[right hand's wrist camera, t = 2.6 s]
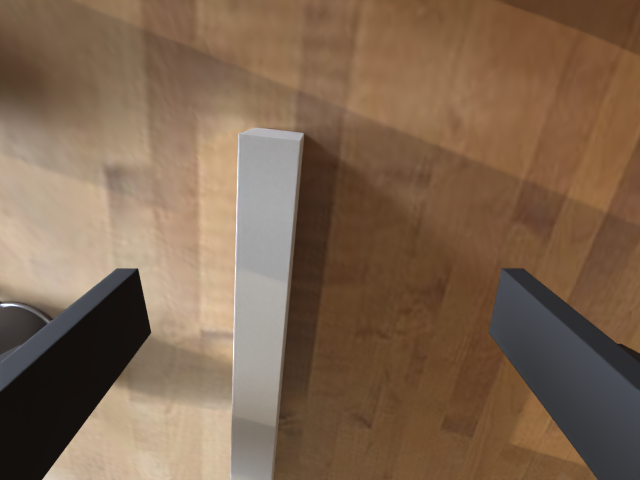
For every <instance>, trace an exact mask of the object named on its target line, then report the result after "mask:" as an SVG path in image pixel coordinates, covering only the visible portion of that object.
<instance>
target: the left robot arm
mask: <svg viewBox="0 0 640 480" xmlns="http://www.w3.org/2000/svg"><path fill="white" fill-rule="evenodd" d="M51 321H52V320H51V319H50V318H49V317H48V316H47V315H45V314H44V313H43V312H41V311H40V310H38V309H36V308H34V307H32V306H29V305H26V304H23V303H18V302H1V301H0V355H1V354H3V353H5V352H7V351H9V350H11V349H13V348H15V347H16V346H18V345H22V344H23V343H25V342H26V341H27V340H28V339H30V338H31V337H32V336H33V335H35V334H36V333H37V332H38V331H40V330H41V329H42V328H43V327H45V326H46V325H47V324H48V323H50V322H51Z"/></svg>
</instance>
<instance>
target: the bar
mask: <svg viewBox="0 0 640 480" xmlns="http://www.w3.org/2000/svg"><path fill="white" fill-rule="evenodd" d="M303 145H304V133H300V132H291V131H282V130H274V129H265V128H256V127H255V128H253V129H250V130H247V131H245V132H242V133H239V141H238V183H237V225H236V266H235V308H234V350H233V391H232V433H231V475H230V480H274V469H275V458H276V446H277V435H278V424H279V413H280V402H281V391H282V379H283V368H284V357H285V346H286V335H287V323H288V312H289V301H290V290H291V279H292V268H293V256H294V245H295V234H296V223H297V212H298V200H299V189H300V178H301V167H302V156H303Z"/></svg>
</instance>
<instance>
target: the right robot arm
mask: <svg viewBox="0 0 640 480" xmlns="http://www.w3.org/2000/svg"><path fill="white" fill-rule="evenodd" d="M150 334H151V329H150V324H149V319H148V315H147V310H146V305H145V300H144V295H143V290H142V285H141V280H140V276H139V271H138V269H116V270H114V271H113V272H112V273H111V274H109V275H108V276H107V277H106V278H104V279H103V280H102V281H101V282H99V283H98V284H97V285H96V286H94V287H93V288H92V289H91V290H89V291H88V292H87V293H86V294H85V295H83V296H82V297H81V298H80V299H78V300H77V301H76V302H75V303H73V304H72V305H71V306H70V307H68V308H67V309H66V310H65V311H63V312H62V313H61V314H60V315H58V316H57V317H56V318H55V319H53V320H52V321H51V322H50V323H48V324H47V325H46V326H45V327H43V328H42V329H41V330H40V331H38V332H37V333H36V334H35V335H33V336H32V337H31V338H30V339H28V340H27V341H26V342H25V343H23V344H22V345H18V346H16V347H15V348H13V349H11V350H9V351H7V352H5V353H3V354H1V355H0V480H42V479H43V478H44V476H45V475H46V474H47V472H48V471H49V470H50V468H51V467H52V466H53V464H54V463H55V462H56V460H57V459H58V458H59V456H60V455H61V453H62V452H63V451H64V449H65V448H66V447H67V445H68V444H69V443H70V441H71V440H72V439H73V437H74V436H75V435H76V433H77V432H78V431H79V429H80V428H81V427H82V425H83V424H84V423H85V421H86V420H87V418H88V417H89V416H90V414H91V413H92V412H93V410H94V409H95V408H96V406H97V405H98V404H99V402H100V401H101V400H102V398H103V397H104V396H105V394H106V393H107V392H108V390H109V389H110V388H111V386H112V385H113V383H114V382H115V381H116V379H117V378H118V377H119V375H120V374H121V373H122V371H123V370H124V369H125V367H126V366H127V365H128V363H129V362H130V361H131V359H132V358H133V357H134V355H135V354H136V353H137V351H138V350H139V348H140V347H141V346H142V344H143V343H144V342H145V340H146V339H147V338H148V336H149V335H150ZM489 334H490V335H491V336H492V338H493V339H494V340H495V342H496V343H497V344H498V346H499V347H500V348H501V350H502V351H503V353H504V354H505V355H506V357H507V358H508V359H509V361H510V362H511V363H512V365H513V366H514V367H515V369H516V370H517V371H518V373H519V374H520V375H521V377H522V378H523V379H524V381H525V382H526V383H527V385H528V386H529V388H530V389H531V390H532V392H533V393H534V394H535V396H536V397H537V398H538V400H539V401H540V402H541V404H542V405H543V406H544V408H545V409H546V410H547V412H548V413H549V414H550V416H551V417H552V418H553V420H554V421H555V423H556V424H557V425H558V427H559V428H560V429H561V431H562V432H563V433H564V435H565V436H566V437H567V439H568V440H569V441H570V443H571V444H572V445H573V447H574V448H575V449H576V451H577V452H578V453H579V455H580V456H581V458H582V459H583V460H584V462H585V463H586V464H587V466H588V467H589V468H590V470H591V471H592V472H593V474H594V475H595V476H596V478H597V479H598V480H640V353H638V352H636V351H634V350H632V349H630V348H628V347H626V346H624V345H623V344H617V343H615V342H614V341H613V340H612V339H610V338H609V337H608V336H607V335H605V334H604V333H603V332H602V331H600V330H599V329H598V328H597V327H595V326H594V325H593V324H592V323H590V322H589V321H588V320H587V319H585V318H584V317H583V316H582V315H580V314H579V313H578V312H577V311H575V310H574V309H573V308H572V307H570V306H569V305H568V304H567V303H565V302H564V301H563V300H562V299H560V298H559V297H558V296H557V295H555V294H554V293H553V292H552V291H551V290H549V289H548V288H547V287H546V286H544V285H543V284H542V283H541V282H539V281H538V280H537V279H536V278H534V277H533V276H532V275H531V274H529V273H528V272H527V271H526V270H524V269H502V271H501V276H500V280H499V285H498V290H497V295H496V300H495V305H494V310H493V315H492V319H491V324H490V329H489Z"/></svg>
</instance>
